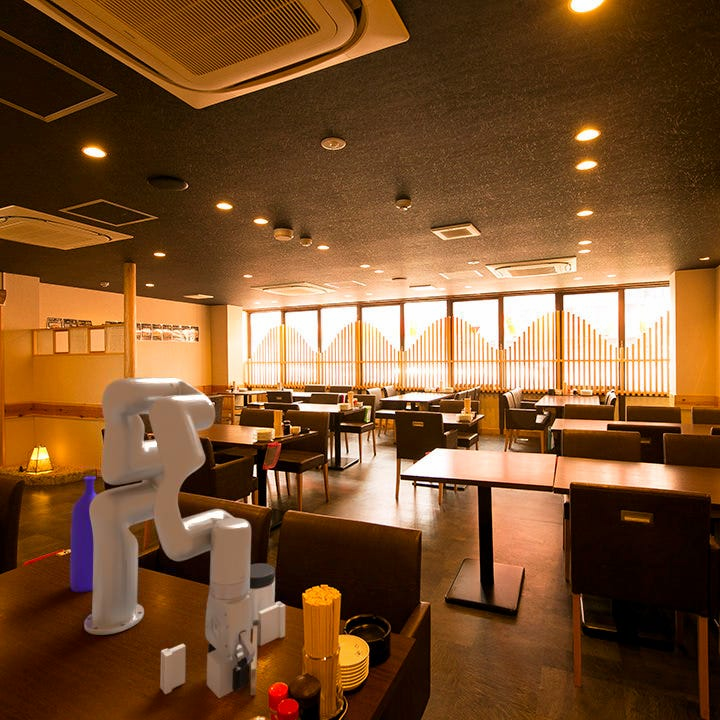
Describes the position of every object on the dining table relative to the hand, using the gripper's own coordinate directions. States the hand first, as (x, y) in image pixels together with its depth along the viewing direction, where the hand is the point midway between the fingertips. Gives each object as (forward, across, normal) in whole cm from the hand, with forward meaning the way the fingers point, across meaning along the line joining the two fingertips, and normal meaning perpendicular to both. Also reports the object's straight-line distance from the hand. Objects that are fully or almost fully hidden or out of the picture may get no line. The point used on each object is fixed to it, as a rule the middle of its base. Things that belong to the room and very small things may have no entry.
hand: (227, 674), depth 88 cm
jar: (+2, -16, +16) cm, 23 cm away
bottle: (+3, -62, -9) cm, 63 cm away
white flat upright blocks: (+2, -6, +3) cm, 7 cm away
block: (+2, 0, 0) cm, 2 cm away
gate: (+2, 0, +6) cm, 6 cm away
